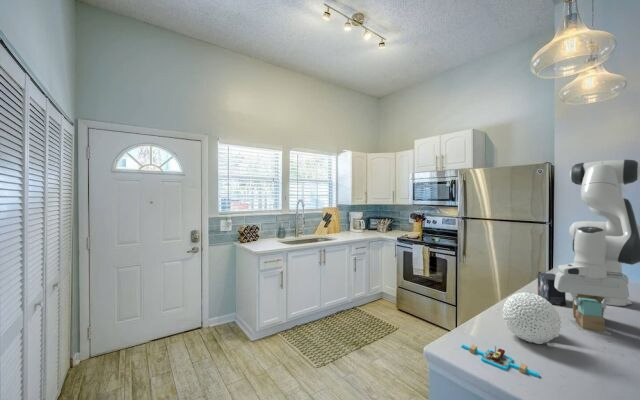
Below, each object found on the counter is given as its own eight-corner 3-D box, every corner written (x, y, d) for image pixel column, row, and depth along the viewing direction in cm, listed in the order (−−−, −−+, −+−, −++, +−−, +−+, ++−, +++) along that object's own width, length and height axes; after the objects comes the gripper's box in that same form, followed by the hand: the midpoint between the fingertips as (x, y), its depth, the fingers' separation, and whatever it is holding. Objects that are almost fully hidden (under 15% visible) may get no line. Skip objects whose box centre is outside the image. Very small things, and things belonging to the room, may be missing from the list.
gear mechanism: (468, 342, 92) (457, 352, 86) (468, 326, 92) (457, 335, 86) (542, 370, 77) (536, 385, 71) (542, 351, 77) (536, 364, 71)
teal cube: (577, 310, 104) (578, 297, 104) (595, 312, 102) (595, 299, 102) (584, 315, 100) (584, 301, 100) (602, 317, 97) (602, 303, 97)
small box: (537, 294, 139) (537, 272, 139) (553, 296, 136) (553, 273, 136) (547, 304, 127) (548, 278, 127) (566, 306, 124) (566, 280, 124)
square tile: (568, 322, 107) (568, 319, 107) (599, 327, 103) (599, 324, 103) (579, 332, 99) (579, 329, 99) (612, 338, 95) (612, 334, 95)
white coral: (579, 333, 81) (540, 281, 91) (517, 349, 86) (488, 299, 96) (567, 337, 95) (536, 292, 105) (516, 351, 101) (490, 307, 111)
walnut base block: (575, 322, 105) (575, 309, 105) (596, 325, 102) (596, 312, 102) (582, 328, 99) (582, 315, 99) (604, 332, 97) (604, 318, 97)
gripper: (622, 271, 99) (622, 308, 99) (552, 265, 108) (552, 299, 108) (633, 275, 94) (633, 315, 94) (559, 268, 102) (558, 304, 102)
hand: (589, 306), depth 101 cm, fingers open, 5 cm apart
